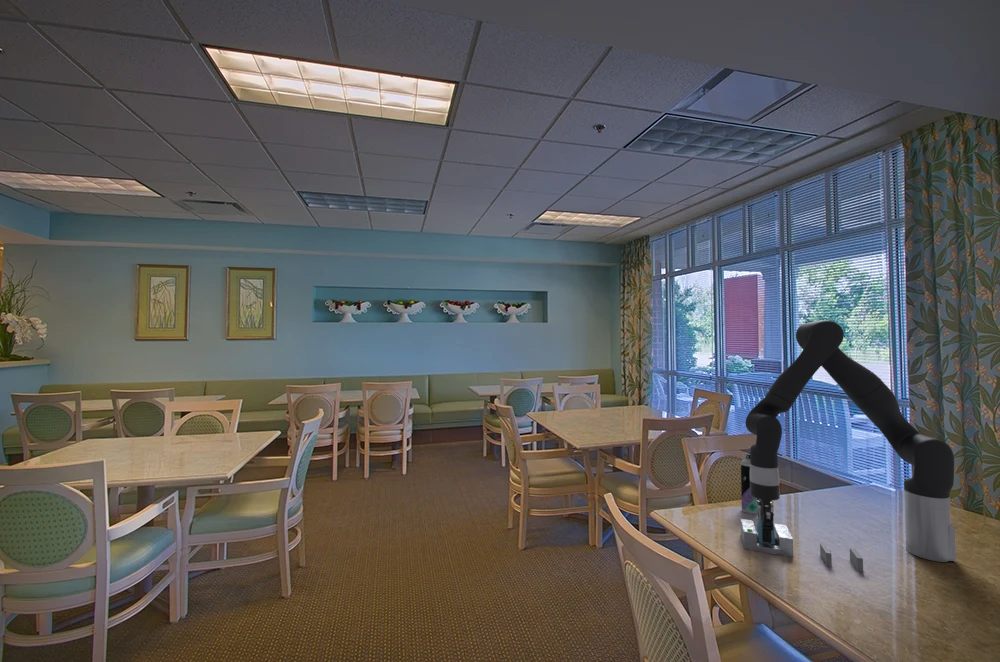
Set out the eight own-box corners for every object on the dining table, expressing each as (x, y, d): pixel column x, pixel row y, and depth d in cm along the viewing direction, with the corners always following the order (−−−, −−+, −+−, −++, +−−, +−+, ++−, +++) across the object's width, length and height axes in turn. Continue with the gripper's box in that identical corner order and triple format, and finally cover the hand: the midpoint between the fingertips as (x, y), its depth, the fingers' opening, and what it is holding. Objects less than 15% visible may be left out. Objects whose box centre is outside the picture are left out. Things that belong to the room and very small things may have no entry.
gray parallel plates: (855, 561, 117) (855, 548, 118) (863, 572, 112) (862, 558, 112) (820, 555, 121) (820, 543, 121) (826, 565, 115) (825, 552, 115)
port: (786, 542, 129) (786, 523, 129) (793, 557, 120) (792, 536, 120) (741, 534, 134) (740, 516, 134) (744, 549, 125) (743, 529, 125)
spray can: (742, 512, 152) (740, 455, 152) (741, 507, 157) (740, 452, 157) (760, 515, 149) (758, 457, 150) (759, 509, 154) (757, 453, 155)
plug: (772, 538, 128) (771, 515, 128) (774, 544, 124) (774, 520, 125) (756, 536, 130) (756, 513, 130) (758, 541, 126) (758, 517, 126)
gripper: (783, 489, 120) (785, 552, 119) (775, 475, 132) (776, 531, 132) (752, 486, 123) (754, 547, 122) (747, 472, 136) (748, 527, 135)
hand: (765, 538), depth 127 cm, fingers closed on plug, 4 cm apart
